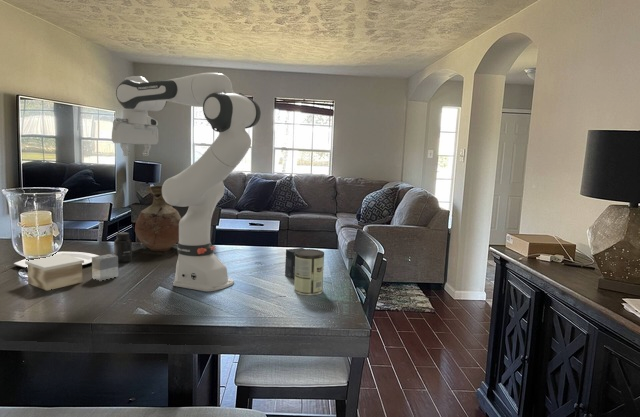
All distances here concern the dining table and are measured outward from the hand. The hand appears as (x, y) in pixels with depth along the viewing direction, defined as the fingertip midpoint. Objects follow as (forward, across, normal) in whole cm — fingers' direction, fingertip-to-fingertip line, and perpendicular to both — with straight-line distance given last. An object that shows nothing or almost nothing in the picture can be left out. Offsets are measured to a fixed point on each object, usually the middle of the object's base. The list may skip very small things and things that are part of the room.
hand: (136, 156), depth 170 cm
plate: (+45, -12, +30) cm, 55 cm away
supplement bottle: (+45, +4, +12) cm, 47 cm away
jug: (+45, +29, +16) cm, 55 cm away
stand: (+44, -29, +8) cm, 54 cm away
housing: (+45, -16, -1) cm, 47 cm away
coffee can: (+45, +8, -72) cm, 85 cm away
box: (+45, +22, -60) cm, 78 cm away
